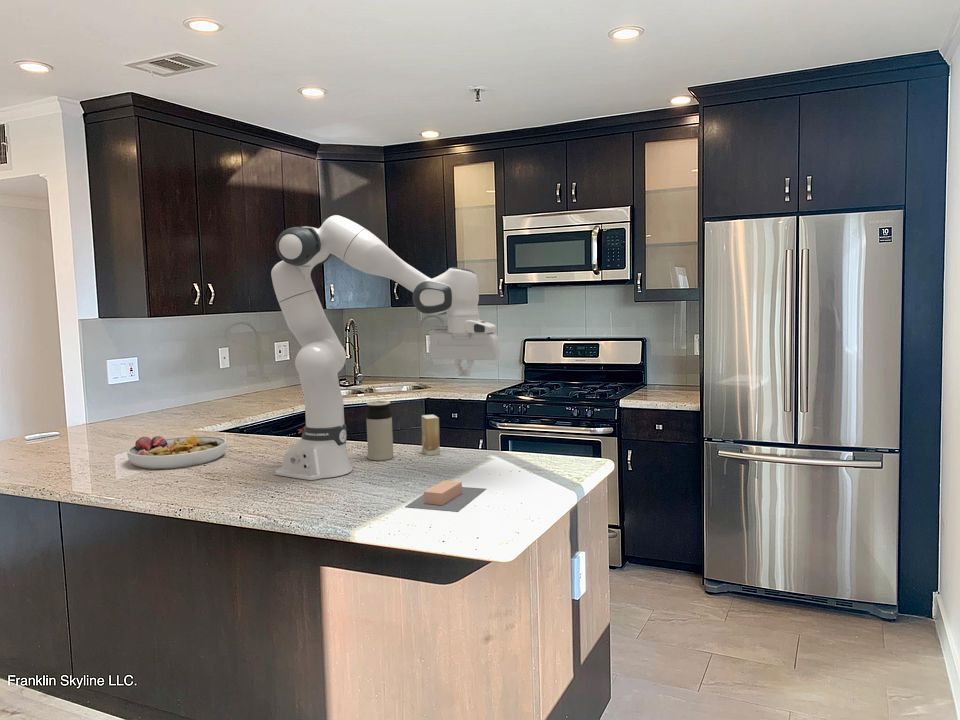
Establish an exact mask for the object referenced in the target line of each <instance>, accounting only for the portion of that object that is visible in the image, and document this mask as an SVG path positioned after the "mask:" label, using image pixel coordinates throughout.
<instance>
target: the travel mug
mask: <svg viewBox="0 0 960 720" xmlns="http://www.w3.org/2000/svg"><path fill="white" fill-rule="evenodd" d="M390 404H391V401H389V400H372V401H371V400H370V401H368V402H366V405H367V408H368V409H367V410H366V414H365V416H366V418H365V419H366V435H367V437H366V440H367V441H366V442H367V458H368V460H371V461H376V462H379V461H380V462H381V461H388V460H391V459H393V458H394V437H393V435H394V434H393V417H392V416H393V414H392V413H393V412H392V410H391V409H390Z"/></svg>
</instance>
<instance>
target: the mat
mask: <svg viewBox="0 0 960 720" xmlns="http://www.w3.org/2000/svg"><path fill="white" fill-rule="evenodd" d="M485 491H487V488H483V487H482V488H481V487H469V486H462V493H461V494H460V495H458V496H456V497H455V498H453V499H452V500H450V501H448V502H447V503H445V504H444V505H435V504H426V503H424V493H423V494H421V495H420V496H419V497H417V498H416V499H415V500H412V501H411V502H410V503H408V504H407V505H405V506H404V508H406V509H417V510H418V509H419V510H430V511H440V512H441V511H442V512H454V513H459V512H460V511H462V509H464V508H465V507H466V506H468V504H470V503H471V502H472V501H474V500H475V499H476V498H478V497H479V496H480V495H481V494H483V493H484V492H485Z"/></svg>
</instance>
